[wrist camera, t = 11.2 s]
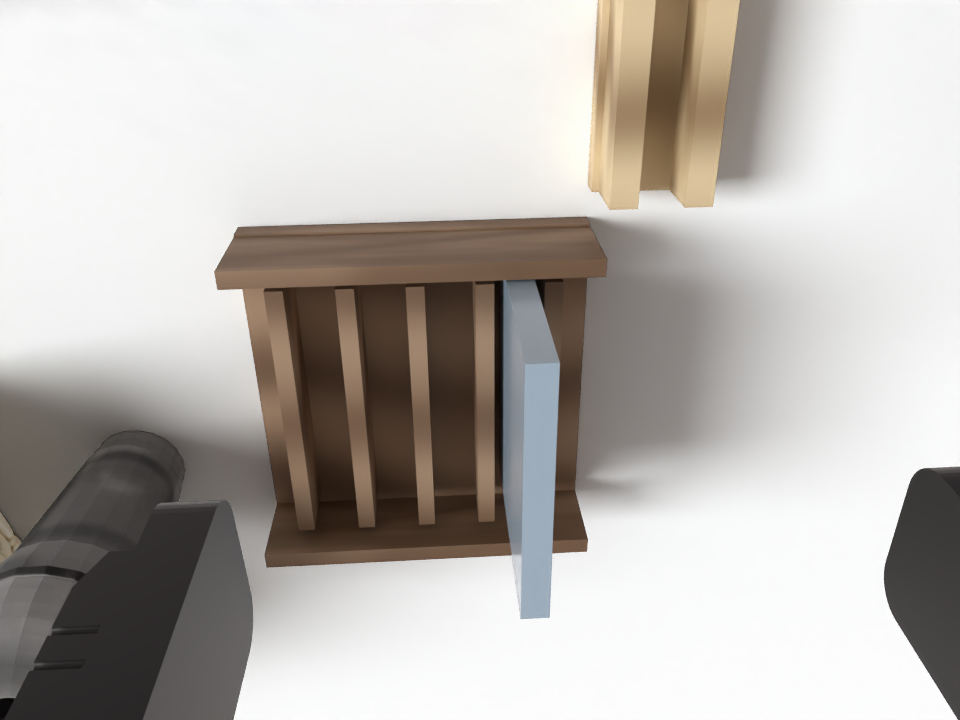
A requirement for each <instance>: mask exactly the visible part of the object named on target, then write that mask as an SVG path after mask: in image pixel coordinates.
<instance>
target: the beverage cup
mask: <svg viewBox="0 0 960 720" xmlns="http://www.w3.org/2000/svg"><path fill="white" fill-rule="evenodd" d="M184 472H185V468H184V463H183V459H182V457H181V456H180V454H179V453H178V451H177V450H176V448H175V447H173V446H172V445H171V444H170V443H169V442H168V441H166V440H165V439H163V438H161V437H159V436H157V435H155V434H152V433H147V432H143V431H124V432H121V433H118V434H115V435H112V436H111V437H110V438H108V439H107V440H106V441H104V442H103V443H102V445H101V447H100V448H99V449H98V450H97V451H96V452H95V453H94V454H93V455H92V456H91V457H90V458H89V459H88V460H87V461H86V462H85V464H84V465H83V466H82V467H81V469H80V470H79V471H78V472H77V474H76V475H75V476H74V477H73V479H72V480H71V481H70V483H69V484H68V485H67V486H66V488H65V489H64V490H63V491H62V493H61V494H60V495H59V496H58V498H57V499H56V500H55V501H54V503H53V504H52V505H51V506H50V508H49V509H48V510H47V512H46V513H45V514H44V515H43V517H42V518H41V519H40V520H39V522H38V523H37V524H36V525H35V527H34V528H33V529H32V530H31V532H30V533H29V534H28V536H27V537H26V538H25V539H24V541H23V542H22V543H21V544H20V546H19V547H18V548H17V549H16V551H15V552H14V553H13V554H12V555H11V556H9V557H8V558H7V559H5V560H4V561H3V562H2V563H1V564H0V720H4V719H5V717H6V715H7V713H8V711H9V709H10V707H11V705H12V703H13V702H14V700H15V698H16V696H17V694H18V692H19V690H20V688H21V686H22V684H23V682H24V680H25V678H26V676H27V674H28V672H29V671H33V669H34V661H35V659H36V657H37V655H38V653H39V651H40V649H41V647H42V645H43V643H44V641H45V639H46V637H47V636H51V634H52V626H53V624H54V622H55V620H56V618H57V616H58V614H59V612H60V610H61V608H62V606H63V604H64V602H65V601H66V599H67V597H68V595H69V593H70V591H71V589H72V587H73V586H74V585H75V584H76V583H77V582H78V581H79V580H80V579H81V578H82V577H83V576H84V575H85V574H86V573H87V572H88V571H89V570H90V569H92V568H93V567H94V566H95V565H96V564H97V563H98V562H99V561H100V560H101V559H102V558H103V557H104V556H105V555H106V554H107V553H108V552H109V551H128V550H135V548H136V546H137V544H138V542H139V539H140V537H141V535H142V533H143V530H144V528H145V526H146V524H147V522H148V519H149V517H150V515H151V513H152V511H153V509H154V508H155V507H156V506H157V505H158V504H160V503H173V502H179V498H180V493H181V484H182V481H183V478H184Z"/></svg>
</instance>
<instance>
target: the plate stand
mask: <svg viewBox="0 0 960 720" xmlns="http://www.w3.org/2000/svg"><path fill="white" fill-rule="evenodd" d="M739 3H740V0H598V10H597V28H596V47H595V65H594V83H593V101H592V120H591V138H590V156H589V174H588V186H589V188H590V190H591V191H592V192H599V193H600V195H601V197H602V198H603V200H604V201H605V203H606V205H607V206H608V208H609V209H610V210H619V209H638V203H639V191H645V190H670V191H671V192H672V193H673V195H674V196H675V197H676V198H677V199H678V200H679V201H680V203H681V204H682V205H683V206H684V207H685V208H687V207H713V202H714V194H715V186H716V179H717V171H718V164H719V156H720V148H721V141H722V133H723V125H724V118H725V110H726V103H727V95H728V87H729V80H730V72H731V64H732V57H733V49H734V41H735V34H736V26H737V19H738V11H739Z"/></svg>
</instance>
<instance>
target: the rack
mask: <svg viewBox="0 0 960 720" xmlns="http://www.w3.org/2000/svg"><path fill="white" fill-rule="evenodd" d="M606 269H607V258H606V256H605V254H604V252H603V250H602V248H601V246H600V244H599V243H598V241H597V239H596V237H595V235H594V233H593V231H592V229H591V227H590V223H589V221H588V219H587V218H586V217H566V218H532V219H499V220H465V221H431V222H398V223H364V224H330V225H296V226H263V227H238V228H237V230H236V232H235V234H234V238H233V240H232V242H231V243H230V245H229V247H228V249H227V250H226V252H225V254H224V256H223V257H222V259H221V261H220V263H219V264H218V266H217V268H216V270H215V271H214V273H215V278H216V284H217V289H218V290H228V289H243V295H244V301H245V308H246V314H247V320H248V326H249V332H250V339H251V345H252V351H253V357H254V363H255V370H256V376H257V382H258V388H259V394H260V401H261V407H262V413H263V419H264V425H265V432H266V438H267V444H268V450H269V456H270V463H271V469H272V475H273V481H274V487H275V493H276V500H277V506H276V510H275V514H274V519H273V523H272V527H271V531H270V535H269V539H268V543H267V547H266V552H265V560H266V566H267V567H286V566H306V565H326V564H346V563H366V562H386V561H406V560H426V559H446V558H466V557H486V556H506V555H512V553H511V546H510V539H509V532H508V525H507V517H506V510H505V503H504V496H503V489H502V482H501V474H500V467H499V280H528V279H535V283H536V286H537V289H538V292H539V296H540V299H541V302H542V306H543V309H544V312H545V315H546V319H547V322H548V325H549V329H550V332H551V335H552V339H553V342H554V345H555V348H556V352H557V355H558V358H559V362H560V373H559V398H558V422H557V447H556V472H555V496H554V521H553V546H552V553H566V552H586V551H587V543H588V538H587V534H586V531H585V527H584V523H583V519H582V515H581V512H580V508H579V504H578V500H577V496H576V493H575V477H576V460H577V442H578V425H579V407H580V390H581V373H582V355H583V338H584V320H585V303H586V285H587V278H588V277H606Z"/></svg>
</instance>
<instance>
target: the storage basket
mask: <svg viewBox="0 0 960 720" xmlns="http://www.w3.org/2000/svg"><path fill="white" fill-rule="evenodd" d="M21 543H22V542H21V541H20V540H19V538H18V537H16V536H15V535H13V531H12V529H11V527H10V525H9V524H8V522H7V521H6V519H5V518H4V517H3V515H2V514H1V512H0V564H1V563H2V562H3V561H4V560H5V559H7V558H8V557H9V556H11V555H12V554H13V553H14V552H15V551H16V549H17V548H18V547H19V546H20V544H21Z"/></svg>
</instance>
